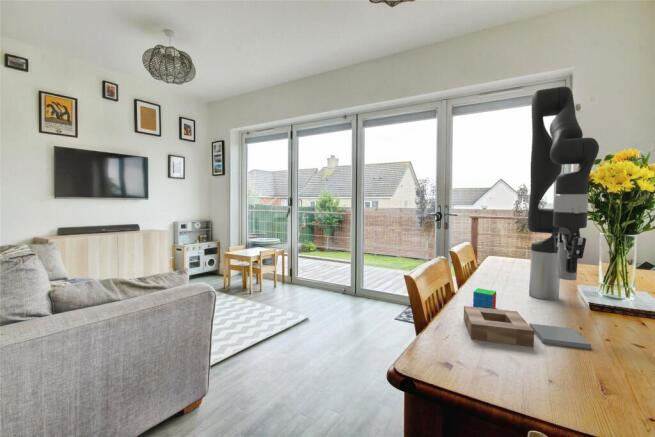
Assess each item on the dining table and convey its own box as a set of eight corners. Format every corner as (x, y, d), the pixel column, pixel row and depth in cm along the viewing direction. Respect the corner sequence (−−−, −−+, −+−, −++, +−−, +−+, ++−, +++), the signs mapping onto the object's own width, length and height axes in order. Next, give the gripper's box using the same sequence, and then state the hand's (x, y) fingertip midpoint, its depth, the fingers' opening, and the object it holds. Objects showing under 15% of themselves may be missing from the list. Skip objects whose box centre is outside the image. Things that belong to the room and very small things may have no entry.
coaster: (529, 327, 86) (529, 323, 86) (571, 332, 83) (571, 328, 83) (543, 343, 77) (543, 338, 77) (591, 349, 74) (591, 344, 74)
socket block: (463, 319, 92) (464, 306, 92) (516, 325, 88) (516, 311, 88) (470, 338, 79) (471, 323, 79) (533, 346, 75) (534, 330, 75)
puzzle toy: (492, 312, 98) (492, 294, 98) (472, 308, 102) (473, 291, 102) (495, 308, 103) (496, 291, 102) (477, 304, 106) (477, 288, 106)
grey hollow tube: (580, 280, 85) (582, 244, 84) (561, 279, 86) (563, 243, 85) (570, 276, 89) (572, 241, 89) (553, 275, 90) (555, 241, 90)
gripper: (544, 209, 94) (542, 264, 95) (566, 211, 80) (562, 275, 82) (573, 209, 92) (570, 265, 93) (600, 211, 78) (596, 277, 79)
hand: (566, 269), depth 87 cm, fingers closed on grey hollow tube, 4 cm apart
